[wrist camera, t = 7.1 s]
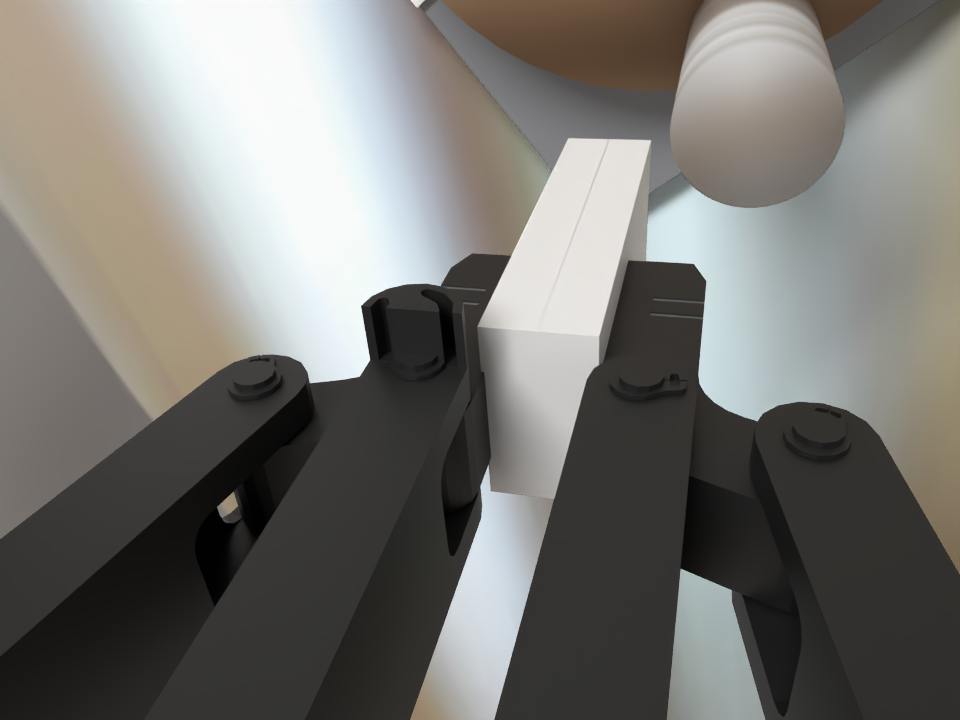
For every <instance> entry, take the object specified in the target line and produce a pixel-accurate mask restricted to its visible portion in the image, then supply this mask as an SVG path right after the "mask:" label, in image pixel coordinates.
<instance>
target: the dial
mask: <svg viewBox="0 0 960 720" xmlns="http://www.w3.org/2000/svg"><path fill="white" fill-rule="evenodd" d="M441 1H442V2H443V3H444V4H445V5H447V6H448V7H449V8H450V9H451V10H452V11H453V12H454V13H455V14H456V15H457V16H458V17H460V18H461V19H462V20H463V21H464V22H465V23H466V24H467V25H468V26H470V27H471V28H472V29H474V30H475V31H477V32H478V33H479V34H481V35H482V36H484V37H485V38H486V39H488V40H489V41H491V42H492V43H493V44H495V45H496V46H497V47H499V48H501V49H503V50H504V51H506V52H508V53H510V54H512V55H514V56H516V57H517V58H519V59H521V60H523V61H525V62H527V63H529V64H530V65H532V66H535V67H538V68H540V69H543V70H546V71H548V72H551V73H553V74H556V75H559V76H561V77H564V78H567V79H571V80H575V81H579V82H584V83H588V84H592V85H596V86H601V87H607V88H617V89H627V90H637V91H654V90H677V93H676V98H675V103H674V108H673V113H672V118H671V124H670V141H671V148H672V152H673V156H674V159H675V161H676V163H677V166H678V168H679V169H680V171H681V173H682V174H683V176H684V177H685V178H686V179H687V181H688V182H689V183H690V184H691V185H692V186H693V187H694V188H695V189H697V190H698V191H699V192H701V193H702V194H704V195H705V196H707V197H709V198H711V199H712V200H715V201H717V202H720V203H723V204H726V205H730V206H735V207H744V208H756V207H764V206H769V205H774V204H778V203H780V202H783V201H786V200H788V199H791V198H793V197H795V196H797V195H798V194H800V193H802V192H803V191H805V190H806V189H808V188H809V187H810V186H811V185H813V184H814V183H815V182H816V181H817V180H818V179H819V178H820V177H821V176H822V175H823V174H824V173H825V171H826V170H827V169H828V168H829V166H830V165H831V163H832V162H833V160H834V158H835V156H836V155H837V152H838V150H839V148H840V145H841V142H842V138H843V134H844V127H845V109H844V103H843V99H842V96H841V93H840V89H839V86H838V83H837V80H836V76H835V73H834V70H833V67H832V64H831V60H830V57H829V54H828V51H827V48H826V44H825V40H827V39H829V38H830V37H832V36H834V35H836V34H837V33H839V32H841V31H842V30H844V29H845V28H847V27H848V26H849V25H851V24H852V23H853V22H855V21H856V20H858V19H859V18H860V17H862V16H863V15H864V14H866V13H867V12H869V11H870V10H871V9H873V8H874V7H875V6H877V5H878V4H880V3H881V2H882V1H883V0H441Z"/></svg>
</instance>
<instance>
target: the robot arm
mask: <svg viewBox="0 0 960 720" xmlns="http://www.w3.org/2000/svg"><path fill="white" fill-rule="evenodd" d="M650 155H651V140H624V139H580V138H568V140H567V142H566V144H565V146H564V148H563V150H562V152H561V155H560V157H559V159H558V161H557V163H556V165H555V167H554V169H553V171H552V173H551V175H550V177H549V179H548V181H547V184H546V186H545V188H544V190H543V192H542V194H541V196H540V198H539V200H538V202H537V204H536V206H535V208H534V210H533V212H532V215H531V217H530V219H529V221H528V223H527V225H526V227H525V229H524V231H523V233H522V235H521V237H520V239H519V241H518V243H517V246H516V248H515V250H514V252H513V254H512V256H506V255H489V254H471V255H469V256H468V257H466V258H465V259H463V260H462V261H460V262H459V263H458V264H456V265H455V266H453V267H452V268H451V269H450V271H449V272H448V274H447V276H446V277H445V279H444V281H443V283H442V284H441V286H436V285H430V284H407V285H403V286H398V287H394V288H389V289H387V290H384V291H382V292H380V293H378V294H376V295H374V296H372V297H371V298H370V299H368V300H367V301H366V302H365V303H364V304H363V305H362V306H361V308H362V313H363V319H364V325H365V331H366V337H367V343H368V349H369V354H370V362H369V363H368V365H367V366H366V368H365V369H364V371H363V373H362V374H361V376H360V377H357V378H351V379H346V380H338V381H329V382H320V383H309V378H308V374H307V371H306V369H305V368H304V366H303V365H302V363H301V362H299V361H297V360H294V359H292V358H290V357H288V356H279V355H262V356H260V355H258V356H252V357H249V358H247V359H243V360H240V361H237V362H234V363H232V364H230V365H229V366H227V367H225V368H224V369H222V370H220V371H218V372H217V373H216V374H214V375H213V376H212V377H210V378H209V379H208V380H207V381H205V382H204V383H203V384H201V385H200V386H199V387H197V388H196V389H195V390H194V391H192V392H191V393H190V394H188V395H187V396H186V397H184V398H183V399H182V400H181V401H179V402H178V403H177V404H175V405H174V406H173V407H171V408H170V409H169V410H168V411H166V412H165V413H164V414H162V415H161V416H160V417H158V418H157V419H156V420H155V421H153V422H152V423H151V424H149V425H148V426H147V427H145V428H144V429H143V430H142V431H140V432H139V433H138V434H136V435H135V436H134V437H133V438H131V439H130V440H129V441H127V442H126V443H125V444H123V445H122V446H121V447H120V448H118V449H117V450H116V451H114V452H113V453H112V454H110V455H109V456H108V457H107V458H105V459H104V460H103V461H101V462H100V463H99V464H97V465H96V466H95V467H94V468H92V469H91V470H90V471H88V472H87V473H86V474H84V475H83V476H82V477H81V478H79V479H78V480H77V481H76V482H74V483H73V484H71V485H70V486H69V487H68V488H66V489H65V490H64V491H62V492H61V493H60V494H58V495H57V496H56V497H55V498H53V499H52V500H51V501H50V502H48V503H47V504H45V505H44V506H43V507H42V508H40V509H39V510H38V511H36V512H35V513H34V514H33V515H31V516H30V517H29V518H27V519H26V520H25V521H23V522H22V523H21V524H20V525H18V526H17V527H16V528H14V529H13V530H12V531H10V532H9V533H8V534H7V535H5V536H4V537H3V538H1V539H0V720H410V718H411V715H412V712H413V710H414V707H415V704H416V701H417V698H418V695H419V693H420V690H421V687H422V684H423V681H424V678H425V676H426V673H427V670H428V667H429V664H430V661H431V659H432V656H433V653H434V650H435V647H436V644H437V641H438V639H439V636H440V633H441V630H442V627H443V624H444V622H445V619H446V616H447V613H448V610H449V607H450V605H451V602H452V599H453V596H454V593H455V590H456V588H457V585H458V582H459V579H460V576H461V573H462V571H463V568H464V565H465V562H466V559H467V556H468V554H469V551H470V548H471V545H472V542H473V539H474V537H475V534H476V531H477V528H478V525H479V522H480V520H481V512H482V500H481V489H480V485H481V483H482V480H483V477H484V475H485V472H486V469H487V467H488V464H489V474H490V486H491V491H494V492H502V493H510V494H518V495H525V496H533V497H541V498H549V499H554V502H553V506H552V509H551V513H550V517H549V520H548V524H547V528H546V532H545V535H544V539H543V543H542V546H541V550H540V554H539V557H538V561H537V565H536V568H535V572H534V576H533V579H532V583H531V587H530V591H529V594H528V598H527V602H526V605H525V609H524V613H523V616H522V620H521V624H520V627H519V631H518V635H517V638H516V642H515V646H514V650H513V653H512V657H511V661H510V664H509V668H508V672H507V675H506V679H505V683H504V686H503V690H502V694H501V697H500V701H499V705H498V709H497V712H496V716H495V720H667V709H668V698H669V687H670V677H671V666H672V655H673V644H674V633H675V622H676V612H677V601H678V590H679V579H680V568H681V569H683V570H685V571H688V572H690V573H693V574H695V575H697V576H700V577H702V578H704V579H707V580H709V581H712V582H714V583H716V584H719V585H721V586H723V587H726V588H728V589H731V590H732V603H733V606H734V610H735V613H736V617H737V620H738V624H739V628H740V631H741V635H742V638H743V642H744V645H745V649H746V652H747V656H748V659H749V663H750V666H751V670H752V673H753V677H754V680H755V684H756V687H757V691H758V695H759V698H760V702H761V705H762V709H763V712H764V716H765V719H766V720H960V575H959V573H958V571H957V569H956V568H955V566H954V564H953V562H952V561H951V559H950V557H949V556H948V554H947V552H946V550H945V549H944V547H943V545H942V543H941V542H940V540H939V538H938V537H937V535H936V533H935V531H934V530H933V528H932V526H931V524H930V523H929V521H928V519H927V518H926V516H925V514H924V512H923V511H922V509H921V507H920V505H919V504H918V502H917V500H916V499H915V497H914V495H913V493H912V492H911V490H910V488H909V486H908V485H907V483H906V481H905V480H904V478H903V476H902V474H901V473H900V471H899V469H898V467H897V466H896V464H895V462H894V461H893V459H892V457H891V455H890V454H889V452H888V450H887V448H886V447H885V445H884V443H883V442H882V440H881V438H880V436H879V435H878V434H877V433H876V432H875V431H874V430H873V429H872V427H871V426H870V425H869V424H868V423H867V422H866V421H864V420H862V419H861V418H859V417H857V416H855V415H854V414H852V413H850V412H849V411H847V410H844V409H840V408H837V407H833V406H830V405H826V404H822V403H808V402H796V403H790V404H784V405H778V406H777V407H775V408H773V409H771V410H769V411H767V412H765V413H764V414H762V416H761V417H760V419H759V420H758V422H757V421H754V420H751V419H748V418H744V417H742V416H739V415H737V414H734V413H732V412H729V411H727V410H725V409H724V408H722V407H720V406H719V405H717V404H715V403H714V402H713V401H712V400H711V399H710V398H709V397H708V396H707V395H706V394H705V393H704V391H703V390H702V388H701V386H700V384H699V378H698V370H699V358H700V347H701V335H702V324H703V313H704V301H705V290H706V280H705V279H704V278H703V276H702V275H701V273H700V272H699V271H698V269H697V268H696V267H695V265H694V264H684V263H667V262H650V261H646V243H647V221H648V199H649V177H650ZM233 491H234V494H235V497H236V500H237V503H238V507H237V508H236V509H235V510H234V511H233V512H231V513H230V514H228V515H227V516H225V517H224V518H221V517H220V515H219V512H218V509H217V506H218V505H220V504H221V503H222V502H223V501H224V500H225V499H226V498H227V497H228V496H229V495H230V494H231V493H232V492H233Z"/></svg>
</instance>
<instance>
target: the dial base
mask: <svg viewBox="0 0 960 720" xmlns="http://www.w3.org/2000/svg"><path fill="white" fill-rule="evenodd" d="M411 1H412V3H413V4H414V5H415V6H416V7H419V6H420V7H421V8H422V10H423V11H424V12H425V13H426V15H427V16H428V17H429V18H430V19H431V21H432V22H433V23H434V24H435V26H436V27H437V28H438V29H439V31H440V32H441V33H442V34H443V36H444V37H445V38H446V39H447V41H448V42H449V43H450V44H451V45H452V47H453V48H454V49H455V50H456V52H457V53H458V54H459V55H460V57H461V58H462V59H463V60H464V62H465V63H466V64H467V65H468V66H469V68H470V69H471V70H472V71H473V73H474V74H475V75H476V76H477V78H478V79H479V80H480V81H481V83H482V84H483V85H484V86H485V88H486V89H487V90H488V91H489V92H490V94H491V95H492V96H493V97H494V99H495V100H496V101H497V102H498V104H499V105H500V106H501V107H502V109H503V110H504V111H505V112H506V113H507V115H508V116H509V117H510V118H511V120H512V121H513V122H514V123H515V125H516V126H517V127H518V128H519V130H520V131H521V132H522V133H523V134H524V136H525V137H526V138H527V139H528V141H529V142H530V143H531V144H532V146H533V147H534V148H535V149H536V151H537V152H538V153H539V154H540V156H541V157H542V158H543V159H544V160H545V162H546V163H547V164H548V165H549V167H550V168H551V169H552V170H553V169H554V167H555V165H556V163H557V161H558V159H559V157H560V155H561V152H562V150H563V148H564V146H565V144H566V142H567V140H568V138H580V139H624V140H651V155H650V177H649V193H651V192H652V191H654V190H655V189H657V188H658V187H660V186H661V185H663V184H664V183H666V182H667V181H669V180H670V179H672V178H673V177H675V176H676V175H678V174H679V173H681V171H680V169H679V168H678V166H677V163H676V161H675V159H674V156H673V152H672V148H671V141H670V124H671V118H672V113H673V108H674V103H675V98H676V93H677V90H654V91H637V90H627V89H617V88H607V87H601V86H596V85H592V84H588V83H584V82H579V81H575V80H571V79H567V78H564V77H561V76H559V75H556V74H553V73H551V72H548V71H546V70H543V69H540V68H538V67H535V66H532V65H530V64H529V63H527V62H525V61H523V60H521V59H519V58H517V57H516V56H514V55H512V54H510V53H508V52H506V51H504V50H503V49H501V48H499V47H497V46H496V45H495V44H493V43H492V42H491V41H489V40H488V39H486V38H485V37H484V36H482V35H481V34H479V33H478V32H477V31H475V30H474V29H472V28H471V27H470V26H468V25H467V24H466V23H465V22H464V21H463V20H462V19H461V18H460V17H458V16H457V15H456V14H455V13H454V12H453V11H452V10H451V9H450V8H449V7H448V6H447V5H445V4H444V3H443V2H442V1H441V0H411ZM938 1H939V0H883V1H882V2H881V3H880V4H878V5H877V6H875V7H874V8H873V9H871V10H870V11H869V12H867V13H866V14H864V15H863V16H862V17H860V18H859V19H858V20H856V21H855V22H853V23H852V24H851V25H849V26H848V27H847V28H845V29H844V30H842V31H841V32H839V33H837V34H836V35H834V36H832V37H830V38H829V39H827V40H825V44H826V48H827V51H828V54H829V57H830V60H831V64H832V67H833V70H835V69H837V68H838V67H840V66H841V65H843V64H844V63H846V62H847V61H849V60H850V59H852V58H853V57H855V56H856V55H858V54H859V53H861V52H862V51H864V50H865V49H867V48H868V47H870V46H871V45H873V44H874V43H876V42H877V41H879V40H880V39H882V38H883V37H885V36H886V35H888V34H889V33H891V32H892V31H894V30H895V29H897V28H898V27H900V26H901V25H903V24H904V23H906V22H907V21H909V20H910V19H912V18H913V17H915V16H916V15H918V14H919V13H921V12H923V11H924V10H926V9H927V8H929V7H930V6H932V5H933V4H935V3H936V2H938Z"/></svg>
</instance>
